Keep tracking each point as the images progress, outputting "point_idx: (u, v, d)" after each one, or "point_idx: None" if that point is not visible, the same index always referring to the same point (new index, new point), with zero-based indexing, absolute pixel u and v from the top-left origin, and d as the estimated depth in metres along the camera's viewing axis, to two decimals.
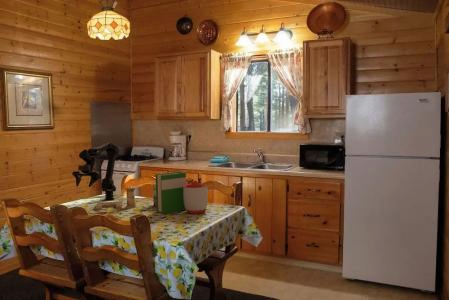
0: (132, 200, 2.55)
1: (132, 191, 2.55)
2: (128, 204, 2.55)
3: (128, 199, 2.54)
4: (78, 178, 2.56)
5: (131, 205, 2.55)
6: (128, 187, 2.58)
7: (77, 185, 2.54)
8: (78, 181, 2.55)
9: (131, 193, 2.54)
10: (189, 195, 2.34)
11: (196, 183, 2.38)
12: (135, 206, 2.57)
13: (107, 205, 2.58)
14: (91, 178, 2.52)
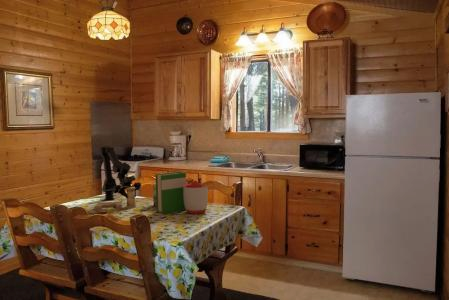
0: (132, 200, 2.55)
1: (132, 191, 2.55)
2: (128, 204, 2.55)
3: (128, 199, 2.54)
4: None
5: (131, 205, 2.55)
6: (128, 187, 2.58)
7: None
8: None
9: (131, 193, 2.54)
10: (189, 195, 2.34)
11: (196, 183, 2.38)
12: (135, 206, 2.57)
13: (107, 205, 2.58)
14: None
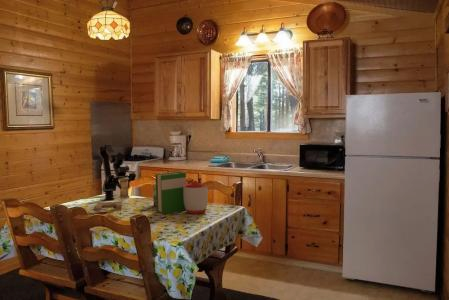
0: (125, 191, 2.53)
1: (125, 181, 2.53)
2: (121, 194, 2.53)
3: (121, 189, 2.53)
4: None
5: (124, 196, 2.53)
6: None
7: (120, 187, 2.53)
8: None
9: (124, 183, 2.52)
10: (189, 195, 2.34)
11: (196, 183, 2.38)
12: (128, 197, 2.55)
13: (107, 205, 2.58)
14: None
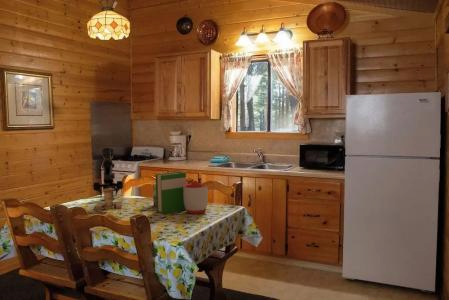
0: (108, 201, 2.52)
1: (108, 192, 2.52)
2: (105, 205, 2.53)
3: (105, 200, 2.53)
4: (100, 189, 2.54)
5: (107, 206, 2.52)
6: (107, 188, 2.56)
7: (101, 195, 2.52)
8: None
9: (107, 194, 2.52)
10: (189, 195, 2.34)
11: (196, 183, 2.38)
12: (112, 207, 2.53)
13: None
14: (116, 187, 2.56)
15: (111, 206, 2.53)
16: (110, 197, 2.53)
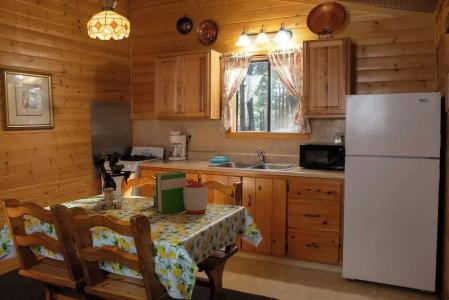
0: (108, 201, 2.52)
1: (108, 192, 2.52)
2: (105, 205, 2.53)
3: (105, 200, 2.53)
4: None
5: (107, 206, 2.52)
6: (108, 188, 2.56)
7: (113, 184, 2.62)
8: None
9: (107, 194, 2.52)
10: (189, 195, 2.34)
11: (196, 183, 2.38)
12: (112, 208, 2.53)
13: None
14: (126, 176, 2.69)
15: (111, 206, 2.53)
16: (110, 197, 2.53)
